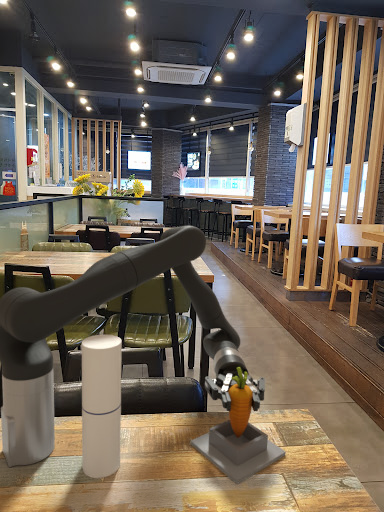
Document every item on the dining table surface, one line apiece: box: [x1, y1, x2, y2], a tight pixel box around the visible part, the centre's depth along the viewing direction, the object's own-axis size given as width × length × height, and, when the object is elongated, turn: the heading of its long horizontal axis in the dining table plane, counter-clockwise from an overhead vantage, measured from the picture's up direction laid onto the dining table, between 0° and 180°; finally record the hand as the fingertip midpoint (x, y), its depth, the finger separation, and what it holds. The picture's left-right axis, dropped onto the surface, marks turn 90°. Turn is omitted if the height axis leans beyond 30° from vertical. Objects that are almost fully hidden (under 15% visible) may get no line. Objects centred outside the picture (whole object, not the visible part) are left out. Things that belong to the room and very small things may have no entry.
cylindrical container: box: [81, 334, 123, 479], centre depth 70 cm, size 7×7×25 cm
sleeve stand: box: [190, 419, 287, 485], centre depth 77 cm, size 14×14×4 cm
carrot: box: [228, 367, 253, 438], centre depth 76 cm, size 5×5×15 cm
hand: (242, 406), depth 74 cm, fingers closed on carrot, 4 cm apart
